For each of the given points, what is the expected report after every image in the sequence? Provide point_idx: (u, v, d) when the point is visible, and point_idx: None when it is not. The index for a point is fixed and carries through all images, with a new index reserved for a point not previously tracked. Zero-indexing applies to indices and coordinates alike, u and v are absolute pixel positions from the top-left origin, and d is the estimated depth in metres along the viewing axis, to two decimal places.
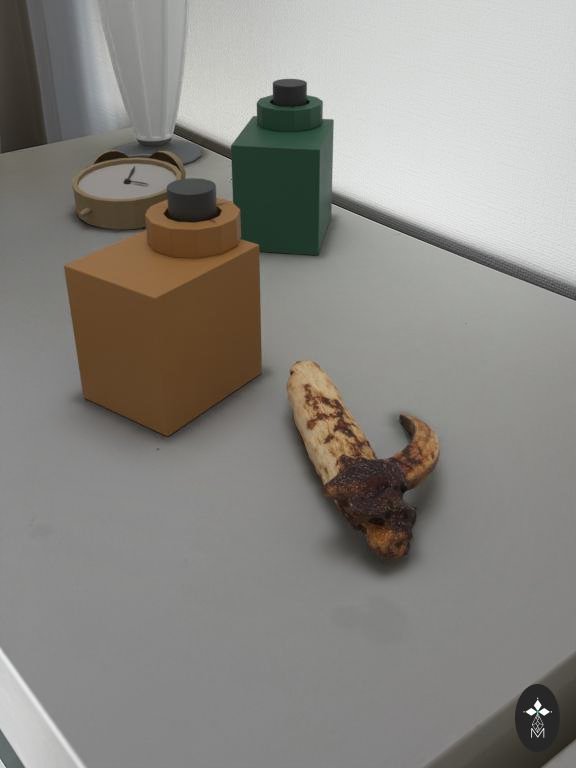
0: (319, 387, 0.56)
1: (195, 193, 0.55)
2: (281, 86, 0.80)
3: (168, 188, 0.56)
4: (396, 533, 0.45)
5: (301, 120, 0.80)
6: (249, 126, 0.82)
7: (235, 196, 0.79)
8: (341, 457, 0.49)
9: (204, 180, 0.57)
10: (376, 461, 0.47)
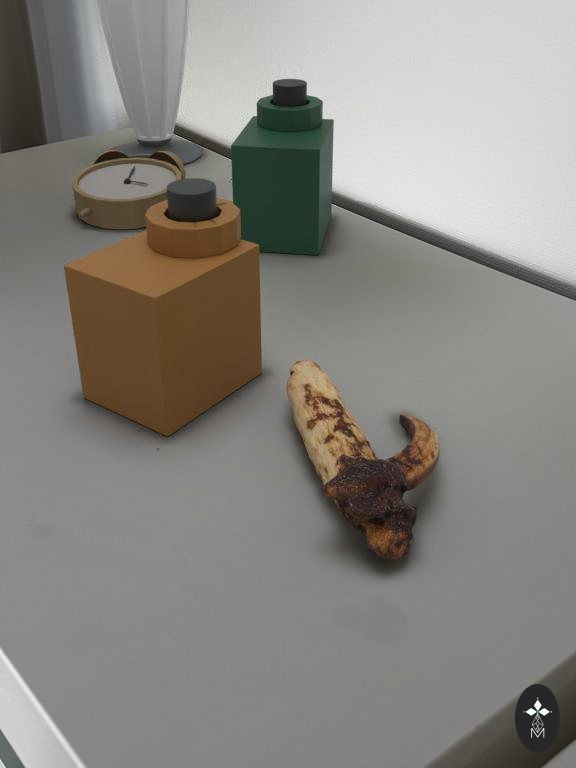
0: (318, 387, 0.56)
1: (195, 193, 0.55)
2: (281, 86, 0.80)
3: (168, 188, 0.56)
4: (396, 533, 0.45)
5: (301, 120, 0.80)
6: (249, 126, 0.82)
7: (235, 196, 0.79)
8: (340, 457, 0.49)
9: (204, 180, 0.57)
10: (376, 461, 0.47)
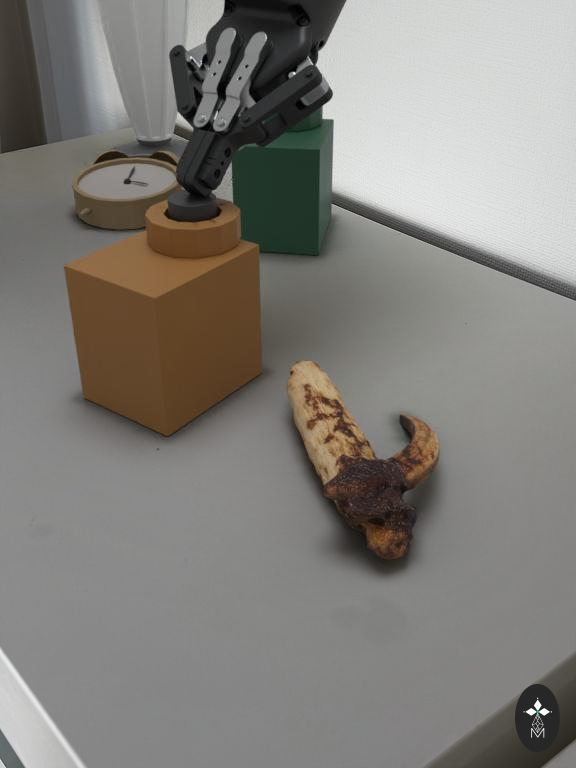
0: (318, 387, 0.56)
1: (195, 204, 0.56)
2: None
3: (169, 200, 0.57)
4: (396, 533, 0.45)
5: None
6: None
7: (235, 196, 0.79)
8: (340, 457, 0.49)
9: None
10: (376, 461, 0.47)
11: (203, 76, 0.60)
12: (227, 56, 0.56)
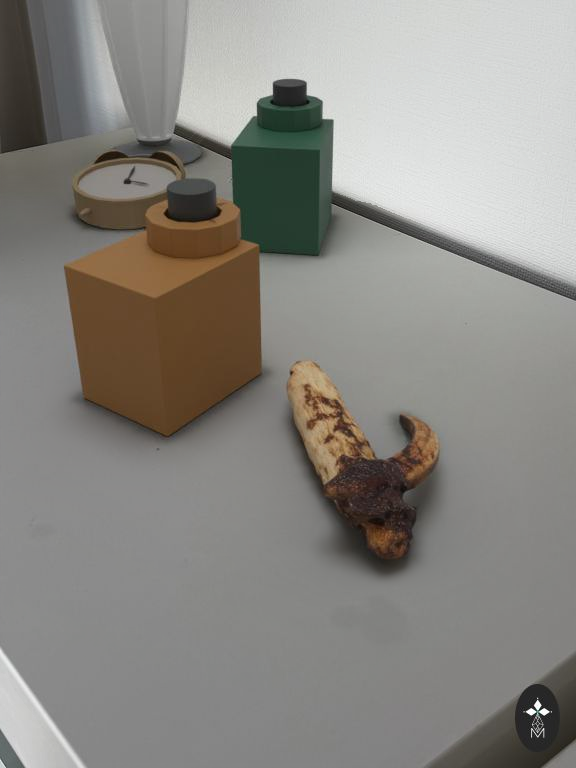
0: (318, 387, 0.56)
1: (195, 193, 0.55)
2: (281, 86, 0.80)
3: (168, 188, 0.56)
4: (396, 533, 0.45)
5: (301, 120, 0.80)
6: (249, 126, 0.82)
7: (235, 196, 0.79)
8: (340, 457, 0.49)
9: (204, 180, 0.57)
10: (376, 461, 0.47)
11: None
12: None
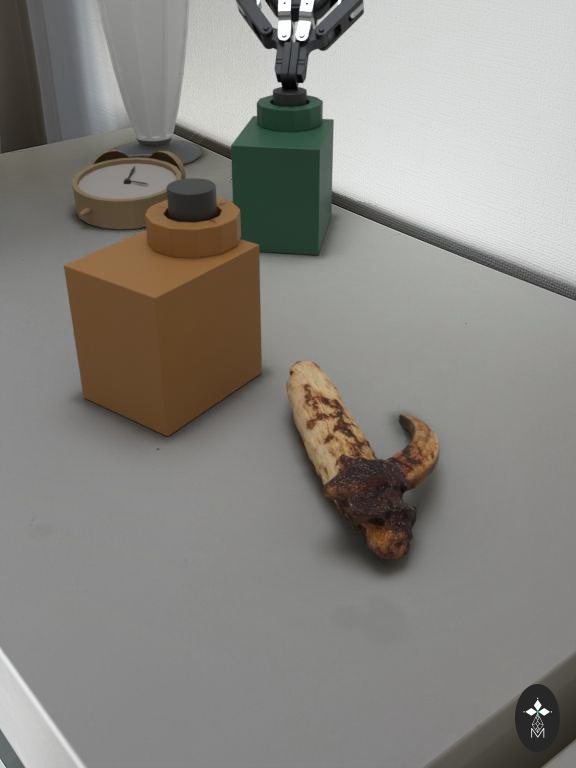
0: (318, 387, 0.56)
1: (195, 193, 0.55)
2: (281, 93, 0.80)
3: (168, 188, 0.56)
4: (396, 533, 0.45)
5: (301, 120, 0.80)
6: (249, 126, 0.82)
7: (235, 196, 0.79)
8: (340, 457, 0.49)
9: (204, 180, 0.57)
10: (376, 461, 0.47)
11: (260, 9, 0.84)
12: None
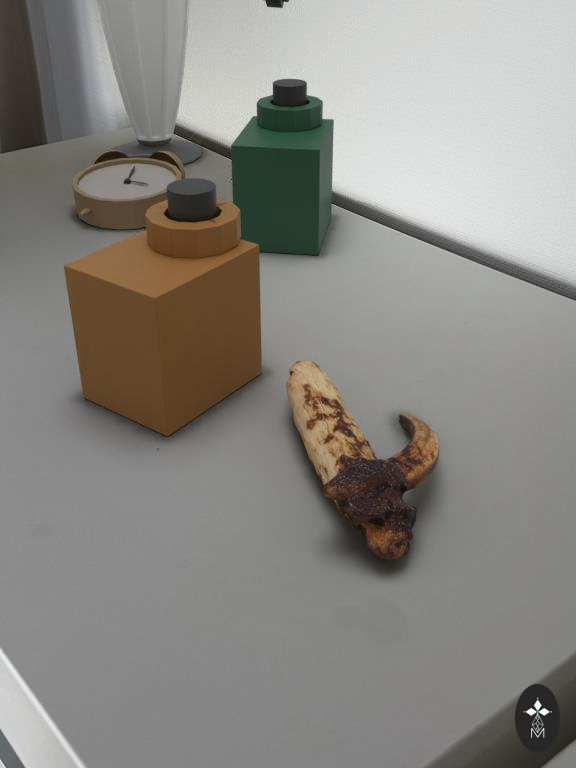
0: (318, 387, 0.56)
1: (195, 193, 0.55)
2: (281, 86, 0.80)
3: (168, 188, 0.56)
4: (396, 533, 0.45)
5: (301, 120, 0.80)
6: (249, 126, 0.82)
7: (235, 196, 0.79)
8: (340, 457, 0.49)
9: (204, 180, 0.57)
10: (376, 461, 0.47)
11: None
12: None
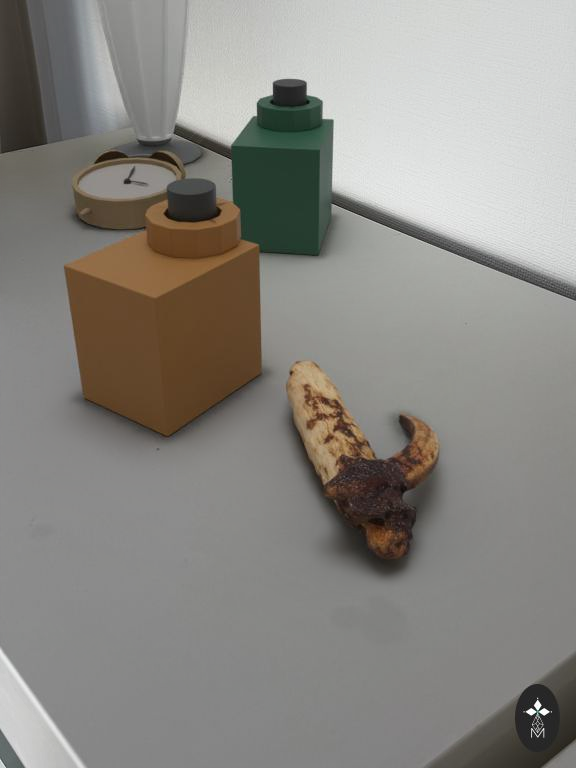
0: (318, 387, 0.56)
1: (195, 193, 0.55)
2: (281, 86, 0.80)
3: (168, 188, 0.56)
4: (396, 533, 0.45)
5: (301, 120, 0.80)
6: (249, 126, 0.82)
7: (235, 196, 0.79)
8: (340, 457, 0.49)
9: (204, 180, 0.57)
10: (376, 461, 0.47)
11: None
12: None
